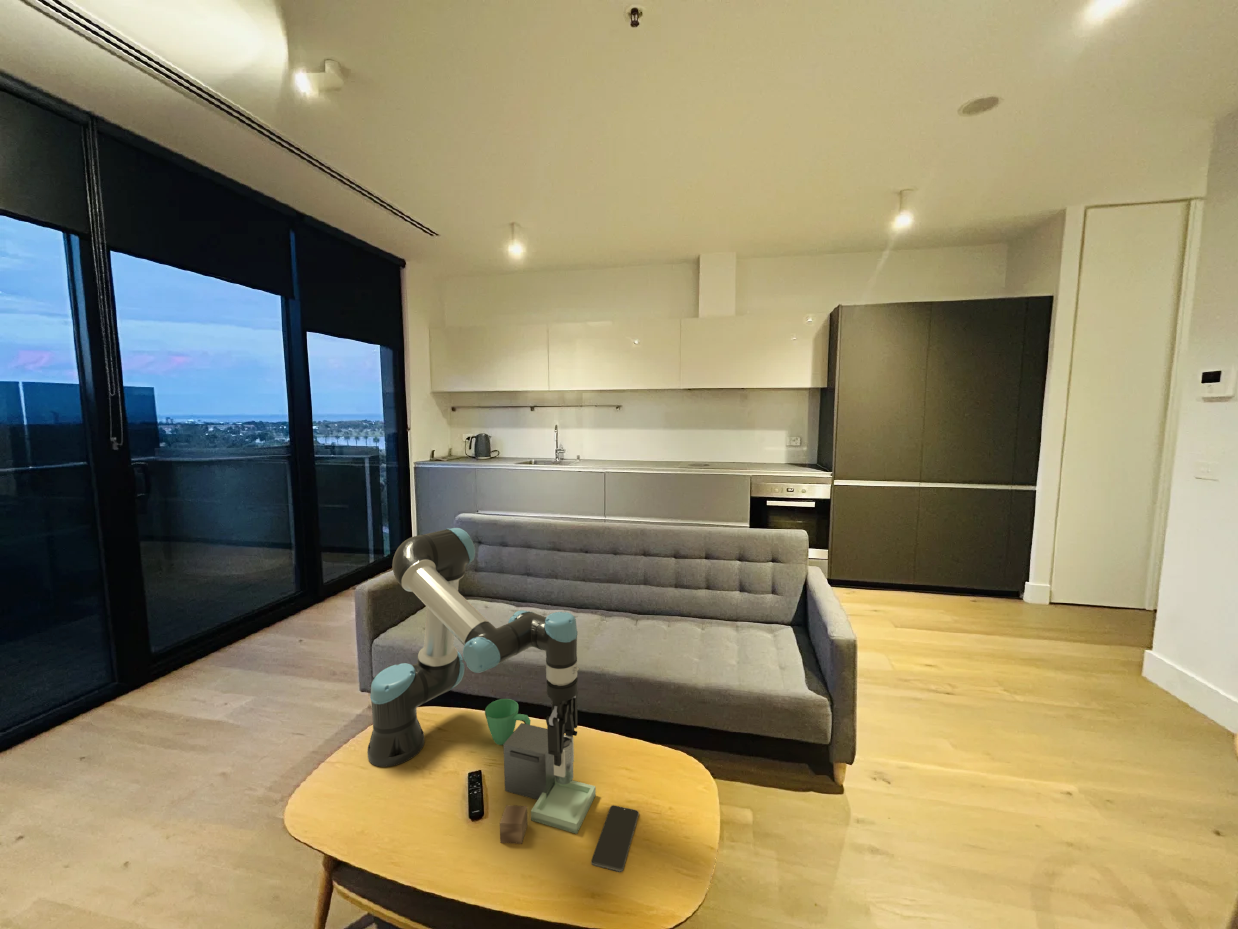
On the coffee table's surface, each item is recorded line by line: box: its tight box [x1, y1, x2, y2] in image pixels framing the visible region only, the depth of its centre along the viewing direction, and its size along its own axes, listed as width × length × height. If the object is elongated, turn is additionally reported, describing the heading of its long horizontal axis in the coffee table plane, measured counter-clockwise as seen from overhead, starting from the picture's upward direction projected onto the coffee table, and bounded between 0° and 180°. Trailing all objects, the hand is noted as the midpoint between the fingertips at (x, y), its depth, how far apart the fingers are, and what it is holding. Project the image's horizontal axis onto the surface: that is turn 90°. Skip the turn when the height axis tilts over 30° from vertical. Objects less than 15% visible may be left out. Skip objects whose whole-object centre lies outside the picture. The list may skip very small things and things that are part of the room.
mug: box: [484, 698, 531, 746], centre depth 142 cm, size 15×10×10 cm
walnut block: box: [499, 804, 528, 845], centre depth 111 cm, size 5×5×5 cm
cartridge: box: [555, 737, 574, 784], centre depth 117 cm, size 4×4×10 cm
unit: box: [503, 722, 555, 801], centre depth 126 cm, size 12×10×13 cm
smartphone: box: [590, 804, 640, 873], centre depth 110 cm, size 7×1×16 cm
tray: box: [530, 779, 597, 835], centre depth 118 cm, size 12×12×2 cm
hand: (564, 767), depth 117 cm, fingers closed on cartridge, 4 cm apart
